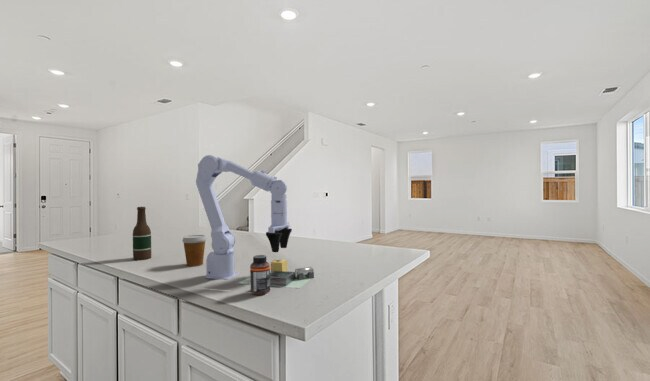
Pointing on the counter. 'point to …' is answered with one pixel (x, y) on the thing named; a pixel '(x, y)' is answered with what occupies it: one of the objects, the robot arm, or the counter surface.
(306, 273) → the shaft
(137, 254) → the beer bottle
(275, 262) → the yellow block
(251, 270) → the supplement bottle
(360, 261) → the counter surface
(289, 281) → the frame
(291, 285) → the mat
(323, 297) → the counter surface
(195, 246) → the disposable coffee cup
